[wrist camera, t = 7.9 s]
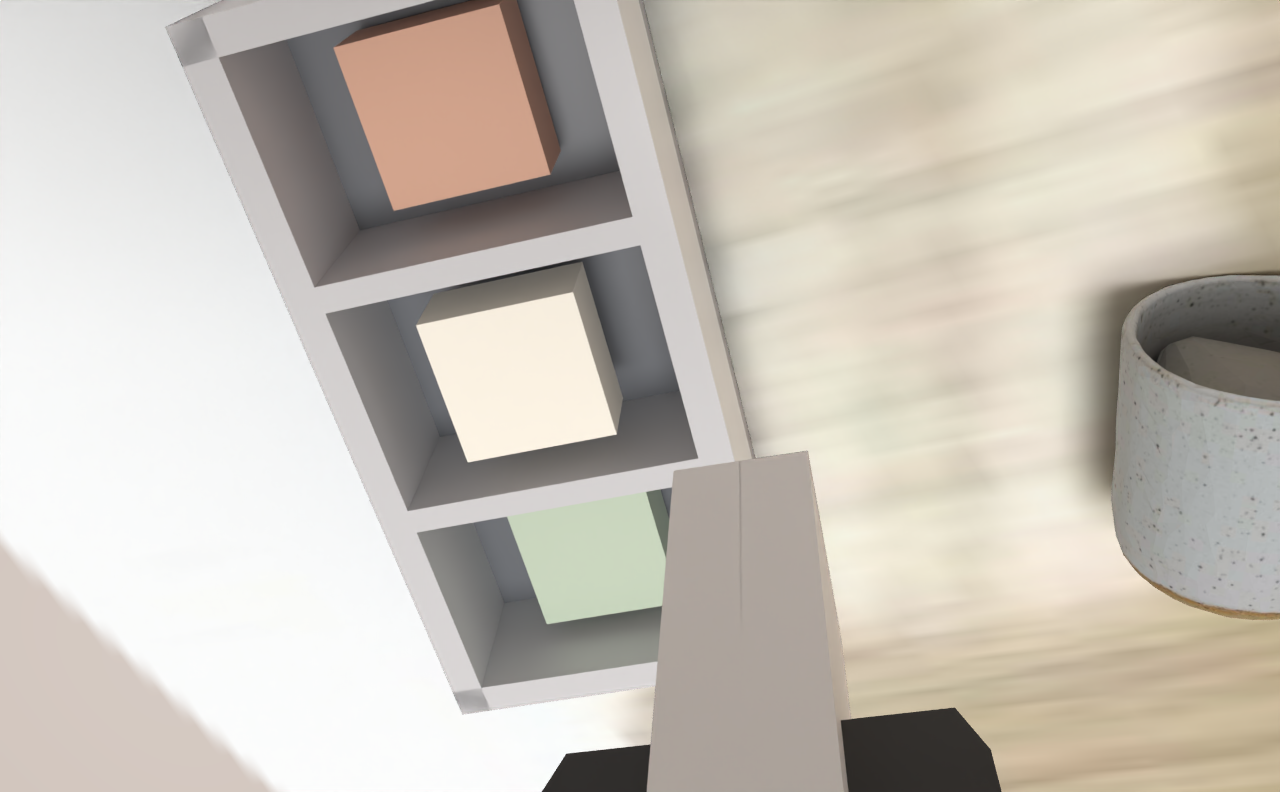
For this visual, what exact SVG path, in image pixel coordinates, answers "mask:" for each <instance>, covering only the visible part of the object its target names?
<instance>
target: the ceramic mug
mask: <svg viewBox="0 0 1280 792" xmlns="http://www.w3.org/2000/svg"><path fill="white" fill-rule="evenodd" d="M1111 502H1112V510H1113V517H1114V525H1115V531H1116V537H1117V539H1118V542H1119V544H1120V547H1121V549H1122V552H1123V555H1124V556H1125V557H1126V559H1127V560H1128V561H1129V563H1130V564H1131V565H1132V567H1133V568H1134V569H1135V570H1136V571H1137V572H1138V573H1139V575H1141V576H1142V577H1143V578H1144V579H1145V580H1147V581H1148V582H1149V583H1150V584H1151V585H1153V586H1154V587H1155V588H1157V589H1158V590H1160V591H1162V592H1163V593H1165V594H1167V595H1168V596H1170V597H1172V598H1173V599H1175V600H1178V601H1180V602H1182V603H1184V604H1186V605H1188V606H1191V607H1195V608H1198V609H1201V610H1205V611H1208V612H1212V613H1215V614H1218V615H1222V616H1225V617H1230V618H1240V619H1251V620H1273V619H1280V276H1276V275H1227V276H1218V277H1207V278H1202V279H1197V280H1190V281H1186V282H1182V283H1178V284H1175V285H1171V286H1167V287H1165V288H1163V289H1161V290H1159V291H1157V292H1155V293H1153V294H1151V295H1149V296H1147V297H1145V298H1143V299H1142V300H1141V301H1140V302H1139V303H1137V304H1136V305H1135V306H1134V307H1133V308H1132V310H1131V311H1130V313H1129V314H1128V315H1127V317H1126V320H1125V322H1124V324H1123V326H1122V337H1121V352H1120V370H1119V390H1118V402H1117V414H1116V452H1115V461H1114V470H1113V479H1112V496H1111Z"/></svg>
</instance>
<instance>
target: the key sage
mask: <svg viewBox="0 0 1280 792" xmlns="http://www.w3.org/2000/svg"><path fill="white" fill-rule="evenodd" d="M507 518H508V521H509V523H510V526H511V529H512V532H513V534H514V537H515V540H516V542H517V545H518V548H519V550H520V553H521V556H522V559H523V561H524V564H525V567H526V569H527V572H528V575H529V577H530V580H531V583H532V586H533V588H534V591H535V594H536V596H537V599H538V602H539V604H540V607H541V610H542V613H543V615H544V618H545V621H546V623H547V624H552V623H558V622H564V621H570V620H577V619H583V618H589V617H596V616H602V615H608V614H614V613H621V612H627V611H633V610H640V609H646V608H652V607H658V606H662V602H663V590H664V578H665V567H666V555H667V543H668V531H669V517H668V514H667V510H666V507H665V503H664V500H663V497H662V493H661V490H660V489H659V490H654V491H648V492H642V493H637V494H631V495H626V496H620V497H614V498H609V499H603V500H597V501H592V502H586V503H580V504H575V505H569V506H564V507H558V508H552V509H547V510H541V511H535V512H530V513H524V514H519V515H513V516H507Z"/></svg>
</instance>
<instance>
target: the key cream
mask: <svg viewBox="0 0 1280 792" xmlns="http://www.w3.org/2000/svg"><path fill="white" fill-rule="evenodd" d="M416 327H417V330H418V332H419V335H420V338H421V340H422V343H423V346H424V348H425V351H426V354H427V356H428V359H429V361H430V364H431V367H432V369H433V372H434V375H435V377H436V380H437V383H438V385H439V388H440V390H441V393H442V396H443V398H444V401H445V404H446V406H447V409H448V412H449V414H450V417H451V419H452V422H453V425H454V427H455V430H456V433H457V435H458V438H459V441H460V443H461V446H462V448H463V451H464V454H465V456H466V459H467V462H473V461H478V460H483V459H489V458H494V457H499V456H505V455H510V454H515V453H521V452H526V451H531V450H537V449H542V448H547V447H553V446H558V445H563V444H569V443H574V442H579V441H585V440H590V439H595V438H601V437H606V436H611V435H617V430H618V424H619V418H620V413H621V407H622V401H623V396H622V393H621V390H620V386H619V383H618V380H617V376H616V373H615V370H614V366H613V363H612V359H611V356H610V353H609V349H608V346H607V343H606V339H605V336H604V333H603V329H602V326H601V323H600V319H599V316H598V313H597V309H596V306H595V303H594V299H593V296H592V293H591V289H590V286H589V282H588V279H587V276H586V272H585V269H584V266H583V262H578V263H574V264H569V265H564V266H560V267H555V268H550V269H546V270H541V271H537V272H532V273H527V274H523V275H518V276H514V277H509V278H504V279H500V280H495V281H490V282H486V283H481V284H477V285H472V286H467V287H463V288H458V289H454V290H449V291H444V292H440V293H435V294H433V296H432V298H431V299H430V301H429V303H428V305H427V306H426V308H425V310H424V312H423V314H422V315H421V317H420V319H419V321H418V322H417V324H416Z"/></svg>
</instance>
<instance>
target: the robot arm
mask: <svg viewBox="0 0 1280 792" xmlns="http://www.w3.org/2000/svg"><path fill="white" fill-rule="evenodd" d="M542 792H1001V788H1000V784H999V780H998V776H997V772H996V769H995V765H994V761H993V757H992V753H991V750H990V748H989V747H988V746H987V745H986V744H985V743H984V741H983V740H982V739H981V738H980V737H979V735H978V734H977V733H976V732H975V731H974V730H973V728H972V727H971V726H970V725H969V724H968V723H967V721H966V720H965V719H964V718H963V717H962V715H961V714H960V713H959V712H958V711H957V710H956V708H948V709H939V710H929V711H920V712H911V713H902V714H893V715H884V716H875V717H866V718H857V719H851V713H850V705H849V696H848V688H847V680H846V672H845V663H844V655H843V647H842V640H841V634H840V628H839V623H838V617H837V612H836V606H835V600H834V595H833V589H832V584H831V578H830V572H829V567H828V561H827V556H826V550H825V545H824V539H823V533H822V528H821V522H820V517H819V511H818V505H817V500H816V494H815V489H814V483H813V477H812V472H811V466H810V461H809V455H808V451H802V452H796V453H789V454H782V455H776V456H769V457H762V458H755V459H749V460H742V461H735V462H729V463H722V464H715V465H708V466H702V467H695V468H688V469H682V470H675V471H673V483H672V495H671V507H670V519H669V531H668V543H667V555H666V567H665V578H664V590H663V602H662V614H661V626H660V638H659V650H658V662H657V674H656V686H655V698H654V710H653V722H652V734H651V745H643V746H633V747H624V748H615V749H606V750H597V751H588V752H579V753H570V754H566V755H565V757H564V758H563V760H562V761H561V763H560V765H559V766H558V768H557V769H556V771H555V772H554V774H553V775H552V777H551V779H550V780H549V782H548V783H547V785H546V786H545V788H544V789H543V791H542Z"/></svg>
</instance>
